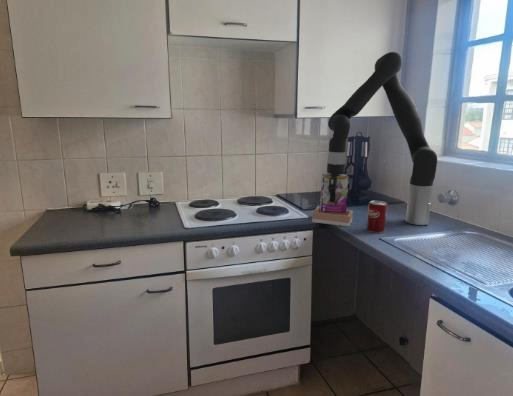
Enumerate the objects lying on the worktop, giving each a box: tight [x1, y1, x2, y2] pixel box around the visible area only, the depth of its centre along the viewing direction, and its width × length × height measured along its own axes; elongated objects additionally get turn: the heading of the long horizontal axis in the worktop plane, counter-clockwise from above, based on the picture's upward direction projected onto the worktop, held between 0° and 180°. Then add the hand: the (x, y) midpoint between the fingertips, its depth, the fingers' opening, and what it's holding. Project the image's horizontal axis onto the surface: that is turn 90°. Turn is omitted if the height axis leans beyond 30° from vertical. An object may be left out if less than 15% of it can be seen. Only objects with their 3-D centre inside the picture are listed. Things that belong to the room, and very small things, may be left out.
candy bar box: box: [319, 173, 350, 213], centre depth 167 cm, size 11×5×16 cm, turn 89°
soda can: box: [366, 200, 388, 234], centre depth 156 cm, size 7×7×12 cm
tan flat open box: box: [311, 206, 354, 227], centre depth 169 cm, size 16×10×4 cm, turn 69°
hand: (333, 200), depth 168 cm, fingers closed on candy bar box, 6 cm apart
